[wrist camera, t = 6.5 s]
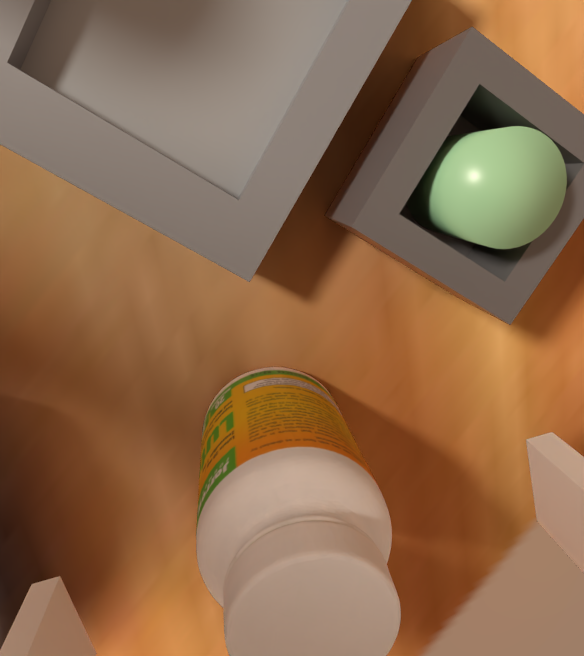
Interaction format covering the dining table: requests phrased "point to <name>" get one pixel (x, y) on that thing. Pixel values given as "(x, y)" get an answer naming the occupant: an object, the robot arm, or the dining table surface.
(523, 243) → the light green egg
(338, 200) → the grey square holder
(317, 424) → the supplement bottle
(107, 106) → the grey slotted tray
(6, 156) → the dining table surface
